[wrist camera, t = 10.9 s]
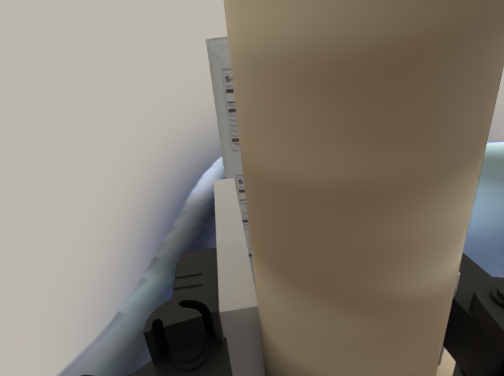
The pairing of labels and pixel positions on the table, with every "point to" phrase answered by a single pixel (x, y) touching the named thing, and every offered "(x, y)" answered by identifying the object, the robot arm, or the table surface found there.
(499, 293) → the robot arm
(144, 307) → the table surface
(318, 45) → the gate
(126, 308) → the table surface
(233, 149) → the supplement box
